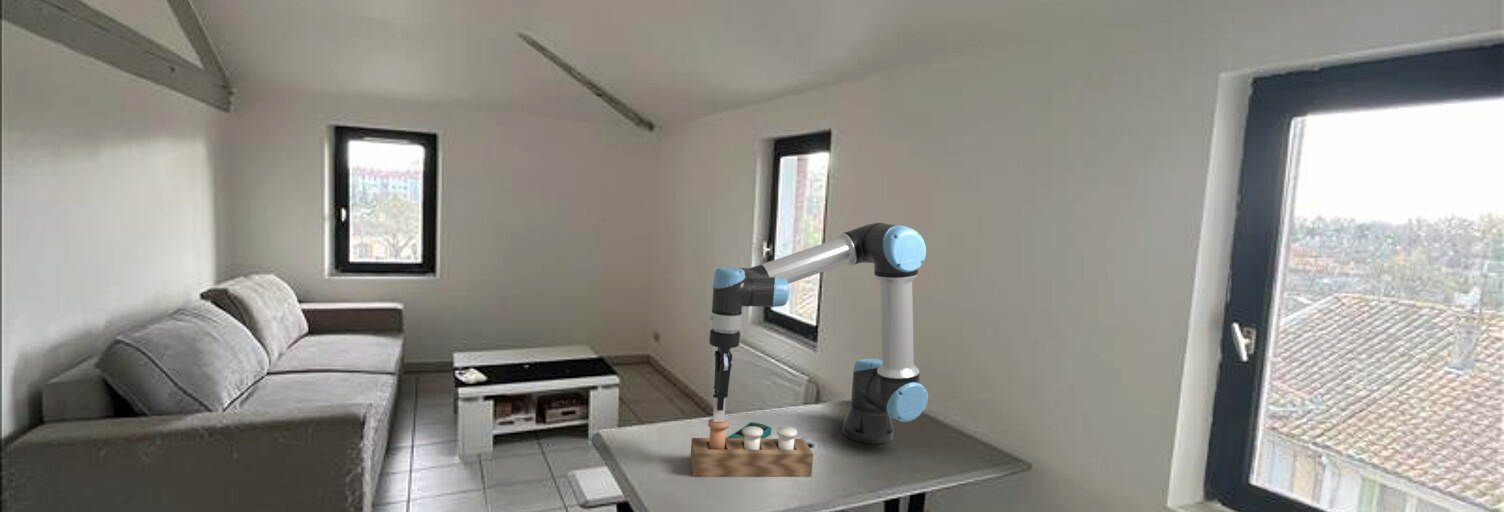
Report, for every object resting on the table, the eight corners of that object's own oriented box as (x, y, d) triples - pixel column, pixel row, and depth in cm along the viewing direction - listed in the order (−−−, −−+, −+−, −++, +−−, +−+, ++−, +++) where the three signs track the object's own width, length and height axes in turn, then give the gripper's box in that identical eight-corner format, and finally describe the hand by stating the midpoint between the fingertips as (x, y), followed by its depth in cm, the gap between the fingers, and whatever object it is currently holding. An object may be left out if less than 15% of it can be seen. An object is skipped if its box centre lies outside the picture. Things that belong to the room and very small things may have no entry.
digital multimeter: (772, 435, 200) (772, 425, 199) (750, 451, 186) (751, 440, 186) (749, 429, 203) (750, 420, 203) (726, 445, 189) (727, 435, 189)
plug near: (792, 459, 179) (794, 426, 178) (796, 468, 174) (799, 434, 173) (772, 459, 178) (775, 426, 177) (776, 468, 173) (779, 434, 172)
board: (801, 460, 182) (803, 438, 181) (811, 476, 172) (813, 454, 171) (690, 459, 176) (691, 437, 176) (693, 476, 167) (694, 453, 166)
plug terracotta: (724, 451, 175) (727, 418, 174) (727, 460, 170) (730, 425, 169) (705, 451, 174) (707, 418, 173) (707, 460, 169) (709, 425, 168)
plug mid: (758, 459, 177) (761, 426, 176) (762, 468, 172) (764, 433, 171) (738, 459, 176) (741, 426, 175) (741, 467, 171) (744, 433, 170)
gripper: (707, 323, 174) (701, 411, 177) (713, 335, 162) (706, 430, 164) (736, 324, 176) (729, 412, 178) (744, 336, 163) (736, 430, 166)
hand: (718, 421), depth 171 cm, fingers closed
